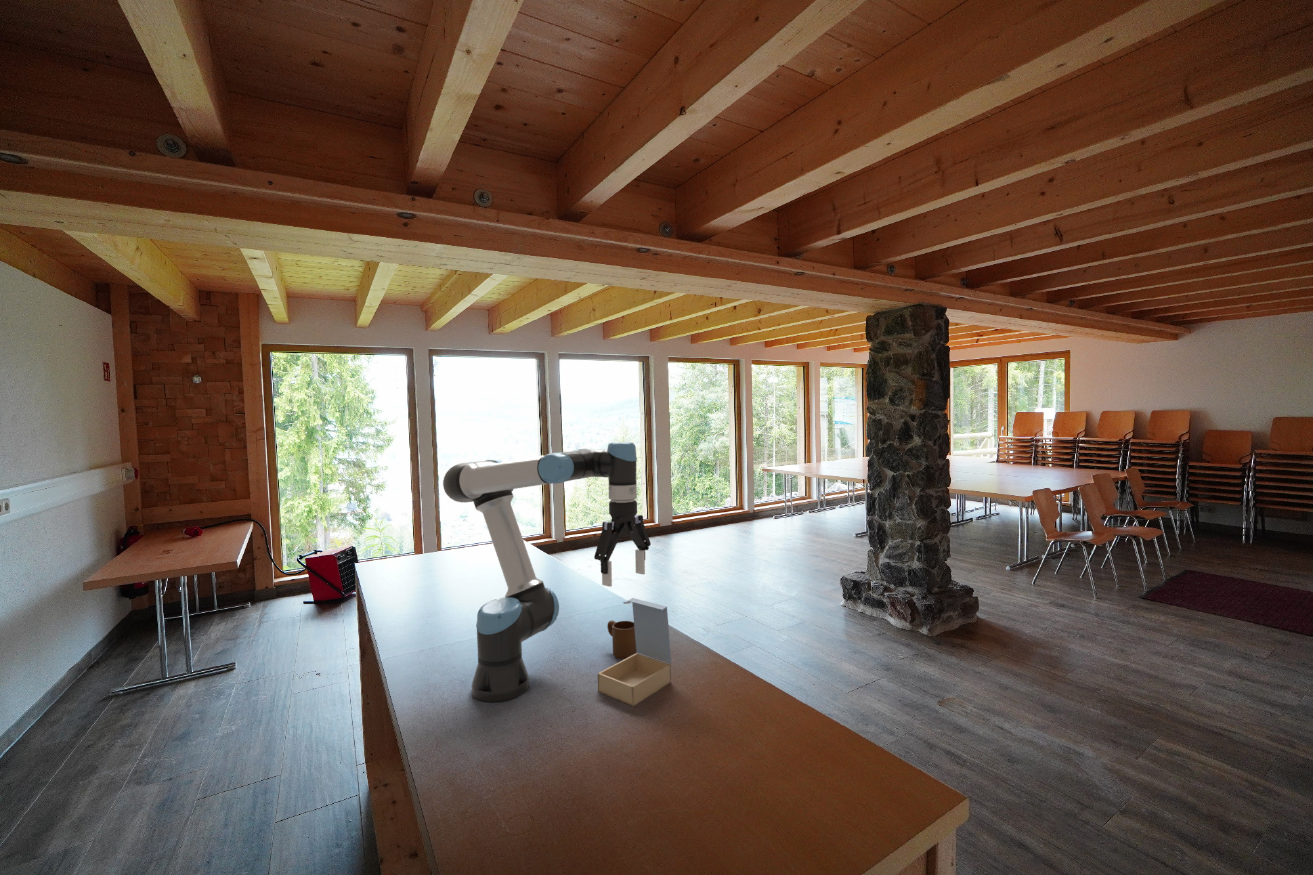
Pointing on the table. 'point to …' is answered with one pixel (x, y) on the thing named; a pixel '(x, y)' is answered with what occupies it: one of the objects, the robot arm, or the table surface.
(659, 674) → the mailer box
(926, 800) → the table surface
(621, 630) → the mug
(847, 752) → the table surface
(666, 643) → the lid
